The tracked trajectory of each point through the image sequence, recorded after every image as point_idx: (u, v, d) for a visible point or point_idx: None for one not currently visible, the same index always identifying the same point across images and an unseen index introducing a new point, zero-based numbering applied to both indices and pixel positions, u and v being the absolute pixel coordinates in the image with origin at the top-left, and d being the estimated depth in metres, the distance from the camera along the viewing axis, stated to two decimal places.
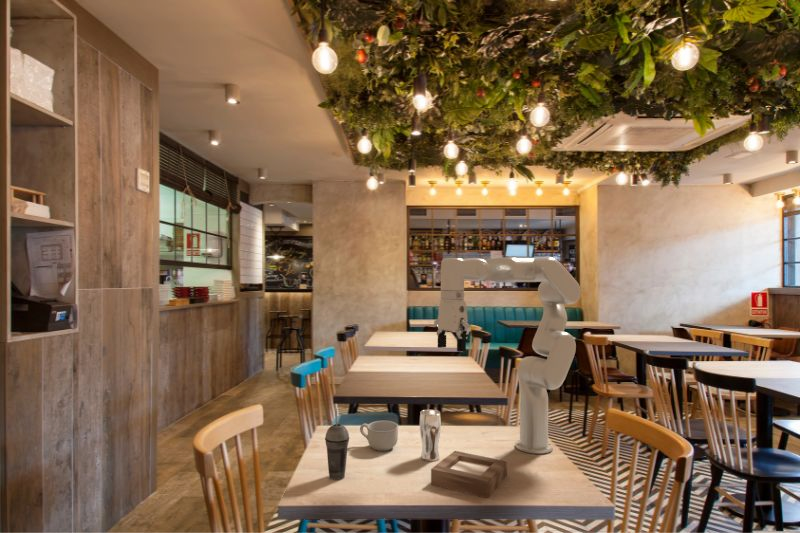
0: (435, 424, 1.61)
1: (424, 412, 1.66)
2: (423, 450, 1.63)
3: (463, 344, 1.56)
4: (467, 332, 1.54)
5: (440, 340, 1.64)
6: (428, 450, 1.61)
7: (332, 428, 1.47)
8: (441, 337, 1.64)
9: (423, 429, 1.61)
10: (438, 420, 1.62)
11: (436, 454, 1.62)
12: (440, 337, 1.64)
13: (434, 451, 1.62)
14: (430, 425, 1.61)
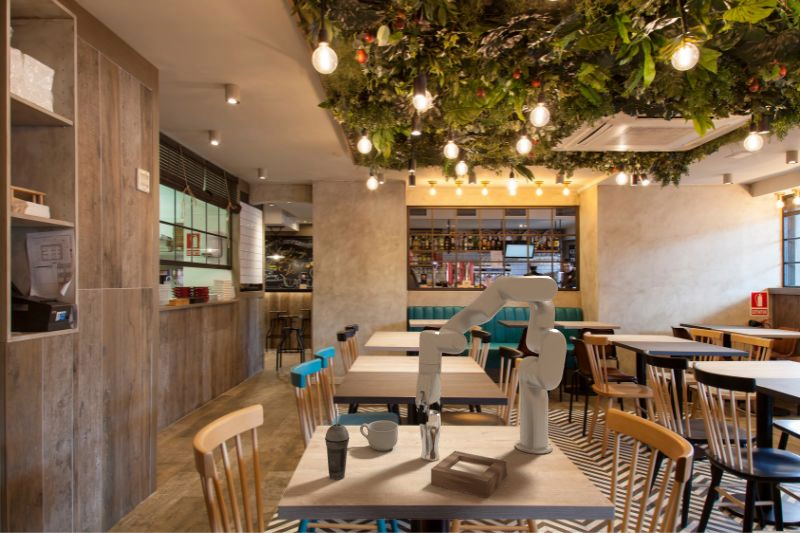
0: (435, 424, 1.61)
1: None
2: (423, 450, 1.63)
3: None
4: None
5: None
6: (428, 450, 1.61)
7: (332, 428, 1.47)
8: None
9: (423, 429, 1.61)
10: (438, 420, 1.62)
11: (436, 454, 1.62)
12: None
13: (434, 451, 1.62)
14: (430, 425, 1.61)
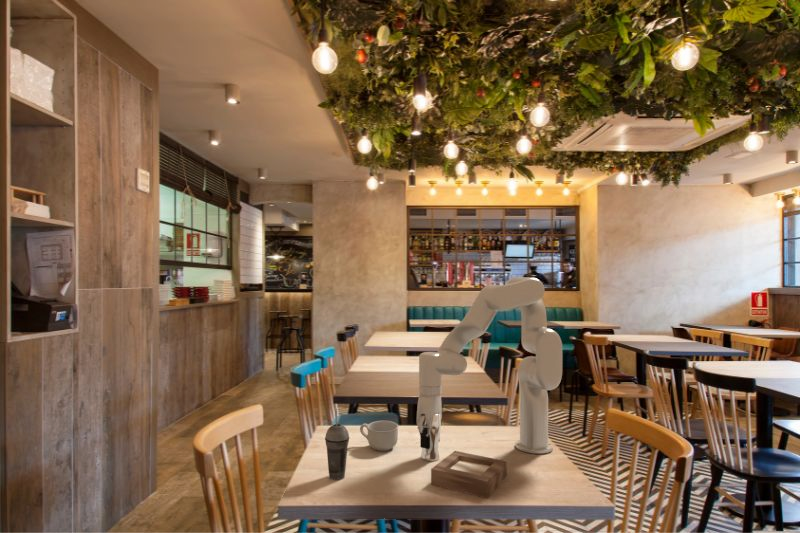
0: (435, 424, 1.61)
1: None
2: (423, 450, 1.63)
3: None
4: None
5: None
6: (428, 450, 1.61)
7: (332, 428, 1.47)
8: None
9: None
10: (438, 420, 1.62)
11: (436, 454, 1.62)
12: None
13: (434, 451, 1.62)
14: None
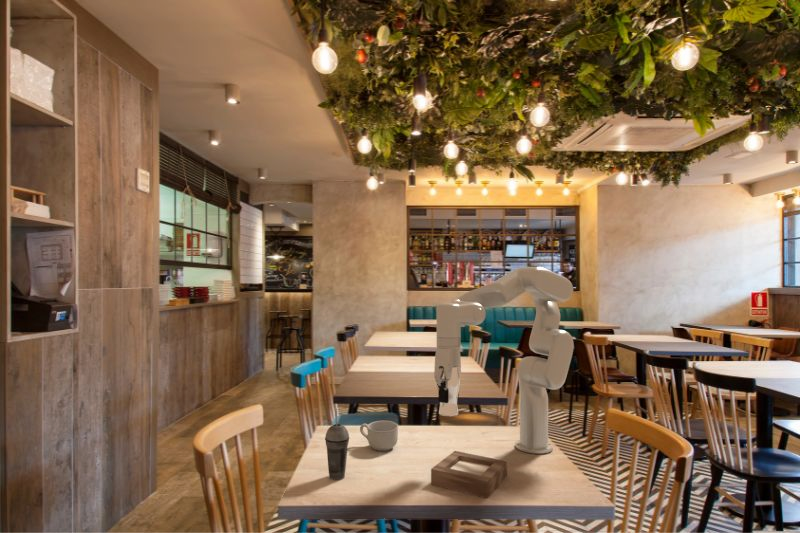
0: (454, 377, 1.53)
1: None
2: (441, 405, 1.54)
3: None
4: None
5: None
6: (446, 405, 1.53)
7: (332, 428, 1.47)
8: None
9: None
10: (457, 373, 1.53)
11: (455, 409, 1.54)
12: None
13: (453, 406, 1.53)
14: None
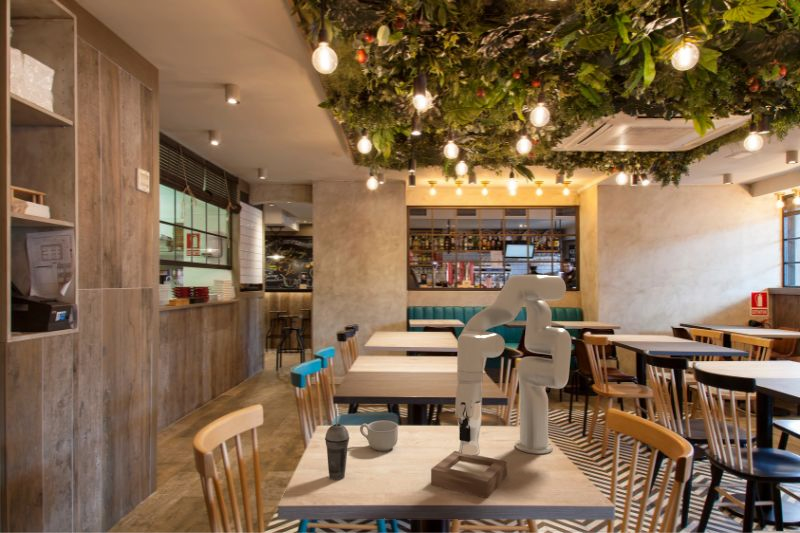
0: (476, 414, 1.43)
1: None
2: (462, 443, 1.45)
3: None
4: None
5: None
6: (468, 443, 1.44)
7: (332, 428, 1.47)
8: None
9: None
10: (479, 410, 1.44)
11: (476, 448, 1.44)
12: None
13: (474, 444, 1.44)
14: None
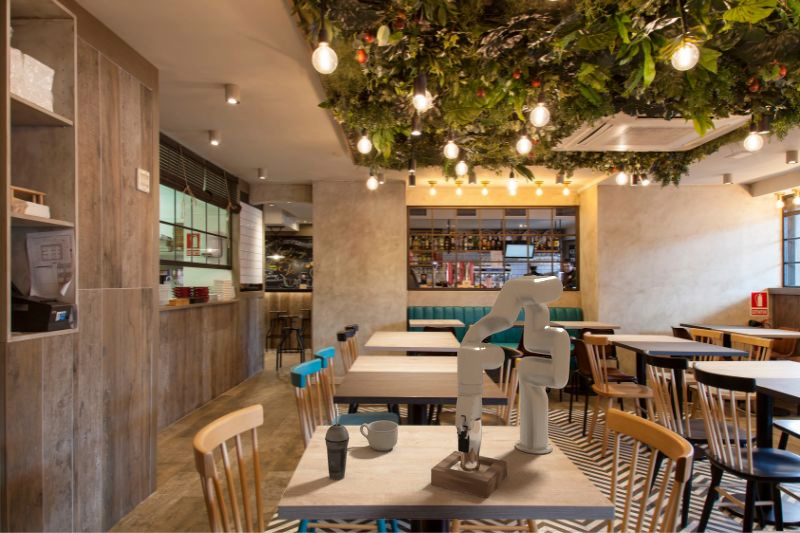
0: (476, 431, 1.43)
1: None
2: (462, 460, 1.45)
3: None
4: None
5: None
6: (468, 461, 1.44)
7: (332, 428, 1.47)
8: None
9: None
10: (479, 427, 1.44)
11: (477, 465, 1.44)
12: None
13: (475, 462, 1.44)
14: (470, 433, 1.43)
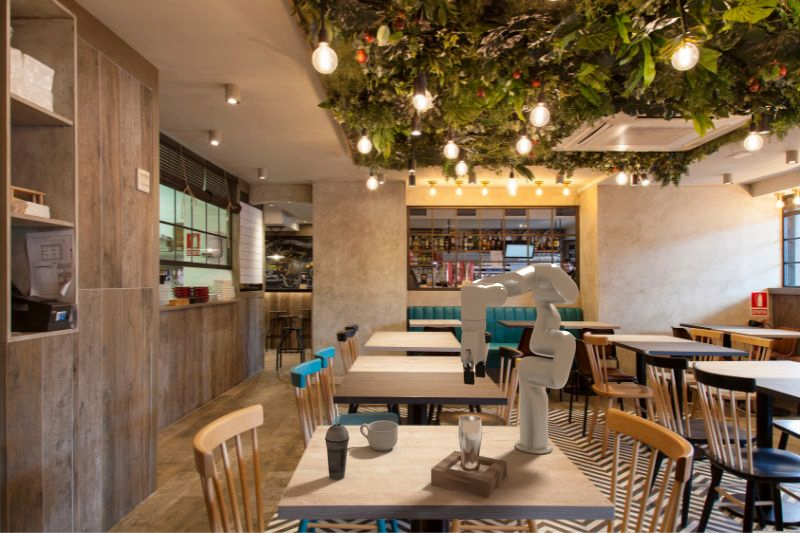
0: (476, 431, 1.43)
1: (462, 418, 1.49)
2: (462, 460, 1.45)
3: None
4: None
5: None
6: (468, 461, 1.44)
7: (332, 428, 1.47)
8: None
9: (463, 437, 1.44)
10: (479, 427, 1.44)
11: (477, 465, 1.44)
12: None
13: (475, 462, 1.44)
14: (470, 433, 1.43)
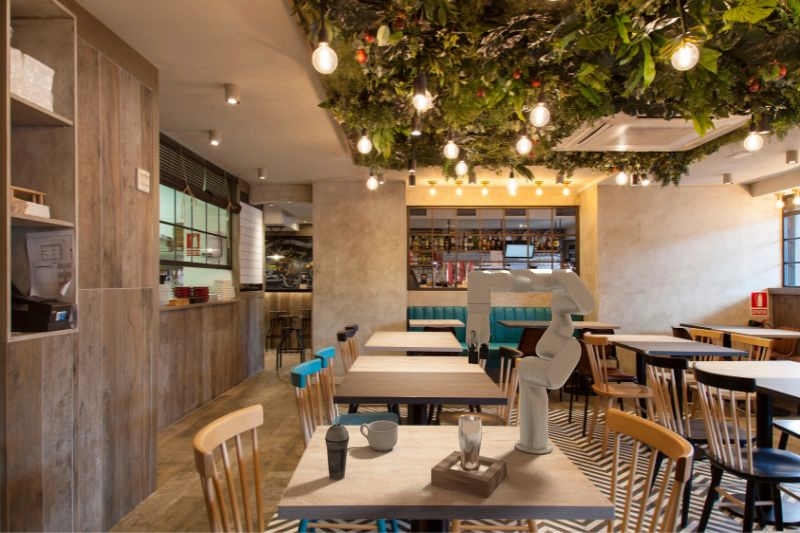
0: (476, 431, 1.43)
1: (463, 418, 1.49)
2: (462, 460, 1.45)
3: None
4: None
5: None
6: (468, 461, 1.44)
7: (332, 428, 1.47)
8: None
9: (463, 437, 1.44)
10: (480, 427, 1.44)
11: (477, 465, 1.44)
12: None
13: (475, 462, 1.44)
14: (470, 433, 1.43)
